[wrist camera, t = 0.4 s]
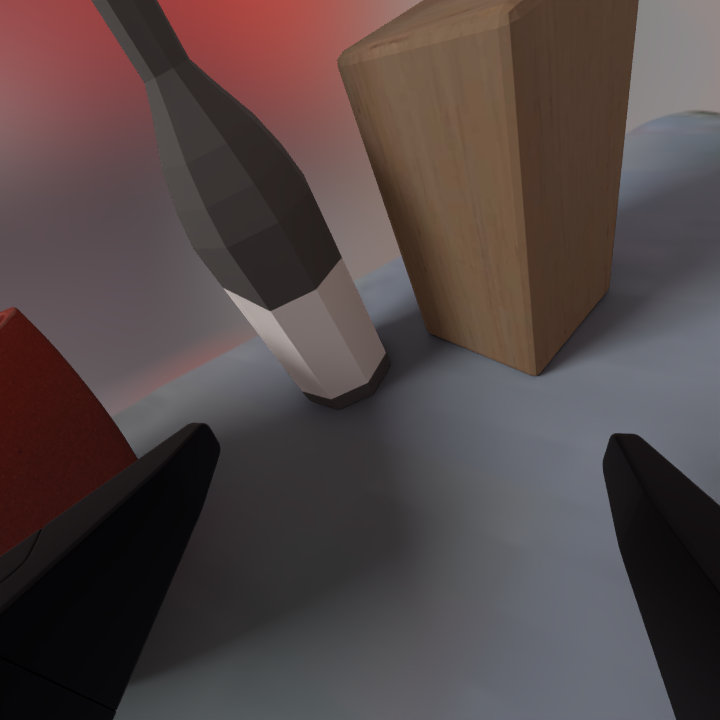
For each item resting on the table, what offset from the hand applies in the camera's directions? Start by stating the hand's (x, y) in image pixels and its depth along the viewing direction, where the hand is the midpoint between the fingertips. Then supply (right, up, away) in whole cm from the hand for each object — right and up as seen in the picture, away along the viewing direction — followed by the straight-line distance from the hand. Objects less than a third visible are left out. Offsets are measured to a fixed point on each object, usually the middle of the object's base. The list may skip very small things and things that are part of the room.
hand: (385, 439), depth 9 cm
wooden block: (+12, +5, +22) cm, 26 cm away
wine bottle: (-2, +1, +25) cm, 25 cm away
